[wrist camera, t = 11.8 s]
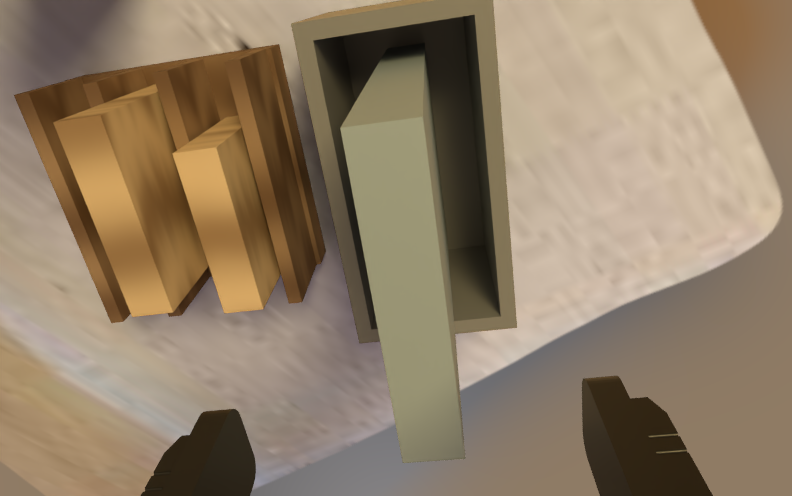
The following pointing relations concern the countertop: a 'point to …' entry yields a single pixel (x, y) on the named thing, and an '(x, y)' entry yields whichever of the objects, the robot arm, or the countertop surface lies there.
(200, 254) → the oak offcut
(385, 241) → the tall sheet
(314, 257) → the rack
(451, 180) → the bin
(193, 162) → the beech offcut
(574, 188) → the countertop surface
